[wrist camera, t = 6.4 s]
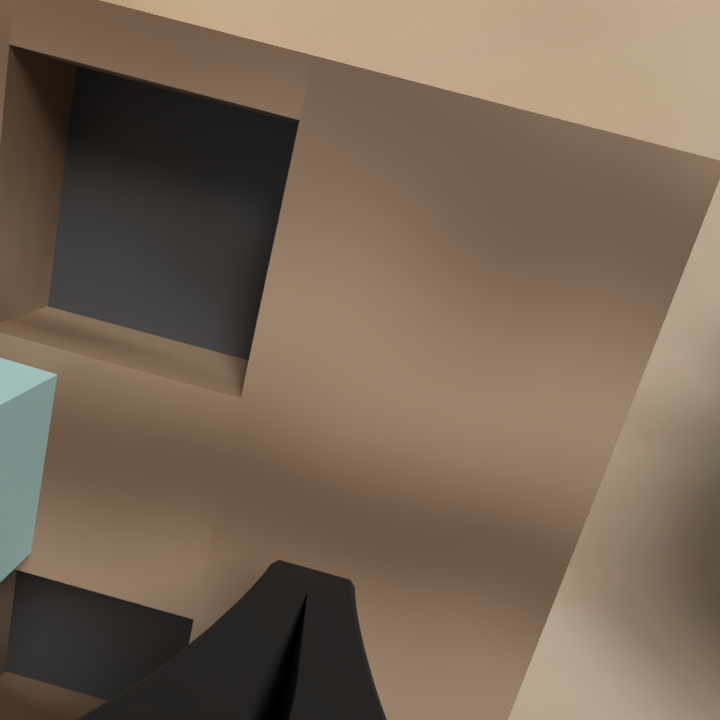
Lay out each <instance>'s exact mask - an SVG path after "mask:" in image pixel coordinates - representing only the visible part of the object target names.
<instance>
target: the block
mask: <svg viewBox="0 0 720 720" xmlns="http://www.w3.org/2000/svg"><path fill="white" fill-rule="evenodd" d="M56 381H57V374H54V373H51V372H47V371H44V370H40V369H37V368H34V367H30V366H27V365H23V364H20V363H17V362H13V361H10V360H6V359H3V358H0V582H1V581H2V580H3V579H4V578H5V577H6V576H7V575H8V574H9V573H10V572H11V571H13V570H14V569H15V568H16V567H17V566H18V565H19V564H20V563H21V562H22V561H23V560H24V559H25V558H26V557H27V556H28V555H29V554H30V553H31V548H32V542H33V535H34V528H35V522H36V515H37V508H38V501H39V495H40V488H41V481H42V475H43V468H44V461H45V454H46V448H47V441H48V434H49V428H50V421H51V414H52V407H53V401H54V394H55V387H56Z"/></svg>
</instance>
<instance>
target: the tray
mask: <svg viewBox="0 0 720 720" xmlns="http://www.w3.org/2000/svg"><path fill="white" fill-rule="evenodd" d="M719 179H720V161H719V160H715V159H711V158H707V157H704V156H700V155H696V154H692V153H688V152H684V151H680V150H676V149H673V148H669V147H665V146H661V145H657V144H653V143H649V142H645V141H642V140H638V139H634V138H630V137H626V136H622V135H618V134H614V133H611V132H607V131H603V130H599V129H595V128H591V127H587V126H584V125H580V124H576V123H572V122H568V121H564V120H560V119H556V118H553V117H549V116H545V115H541V114H537V113H533V112H529V111H525V110H522V109H518V108H514V107H510V106H506V105H502V104H498V103H494V102H491V101H487V100H483V99H479V98H475V97H471V96H467V95H463V94H460V93H456V92H452V91H448V90H444V89H440V88H436V87H433V86H429V85H425V84H421V83H417V82H413V81H409V80H405V79H402V78H398V77H394V76H390V75H386V74H382V73H378V72H374V71H371V70H367V69H363V68H359V67H355V66H351V65H347V64H343V63H340V62H336V61H332V60H328V59H324V58H320V57H316V56H313V55H309V54H305V53H301V52H297V51H293V50H289V49H285V48H282V47H278V46H274V45H270V44H266V43H262V42H258V41H254V40H251V39H247V38H243V37H239V36H235V35H231V34H227V33H223V32H220V31H216V30H212V29H208V28H204V27H200V26H196V25H192V24H189V23H185V22H181V21H177V20H173V19H169V18H165V17H162V16H158V15H154V14H150V13H146V12H142V11H138V10H134V9H131V8H127V7H123V6H119V5H115V4H111V3H107V2H103V1H100V0H0V358H3V359H6V360H10V361H13V362H17V363H20V364H23V365H27V366H30V367H34V368H37V369H40V370H44V371H47V372H51V373H54V374H57V381H56V387H55V394H54V401H53V407H52V414H51V421H50V428H49V434H48V441H47V448H46V454H45V461H44V468H43V475H42V481H41V488H40V495H39V501H38V508H37V515H36V522H35V528H34V535H33V542H32V548H31V553H30V554H29V555H28V556H27V557H26V558H25V559H24V560H23V561H22V562H21V563H20V564H19V565H18V566H17V567H16V568H15V569H14V570H13V571H11V572H10V573H9V574H8V575H7V576H6V577H5V578H4V579H3V580H2V581H1V582H0V720H76V719H78V718H80V717H81V716H83V715H85V714H87V713H88V712H90V711H92V710H93V709H95V708H97V707H98V706H100V705H102V704H104V703H105V702H107V701H109V700H110V699H112V698H114V697H115V696H117V695H119V694H120V693H122V692H123V691H125V690H126V689H128V688H129V687H131V686H132V685H134V684H135V683H137V682H139V681H140V680H142V679H143V678H144V677H146V676H147V675H149V674H150V673H152V672H153V671H155V670H156V669H157V668H159V667H160V666H161V665H163V664H164V663H166V662H167V661H168V660H170V659H171V658H172V657H174V656H175V655H176V654H177V653H179V652H180V651H181V650H182V649H184V648H185V647H186V646H187V645H188V644H190V643H191V642H192V641H193V640H195V639H196V638H197V637H198V636H200V635H201V634H202V633H203V632H205V631H206V630H207V629H208V628H209V627H210V626H212V625H213V624H214V623H215V622H216V621H217V620H218V619H219V618H220V617H221V616H222V615H224V614H225V613H226V612H227V611H228V610H229V609H230V608H231V607H232V606H233V605H234V604H235V603H237V602H238V601H239V600H240V599H241V598H242V597H243V595H244V594H245V593H246V592H247V591H248V590H249V589H250V588H251V587H252V586H253V585H254V584H255V583H256V582H257V581H258V580H259V578H260V577H261V576H262V575H263V574H264V572H265V571H266V570H267V569H268V567H269V566H270V564H272V563H274V562H276V561H278V560H282V561H285V562H289V563H293V564H296V565H300V566H303V567H307V568H310V569H314V570H318V571H321V572H325V573H328V574H332V575H336V576H339V577H343V578H346V579H350V580H351V581H352V583H353V585H354V587H355V598H356V607H357V614H358V620H359V625H360V630H361V635H362V639H363V644H364V648H365V652H366V655H367V659H368V663H369V666H370V670H371V673H372V677H373V681H374V684H375V687H376V690H377V693H378V696H379V699H380V702H381V705H382V708H383V711H384V713H385V716H386V719H387V720H508V717H509V715H510V712H511V710H512V707H513V704H514V702H515V699H516V697H517V694H518V692H519V689H520V687H521V684H522V681H523V679H524V676H525V674H526V671H527V669H528V666H529V664H530V661H531V659H532V656H533V653H534V651H535V648H536V646H537V643H538V641H539V638H540V636H541V633H542V630H543V628H544V625H545V623H546V620H547V618H548V615H549V613H550V610H551V608H552V605H553V602H554V600H555V597H556V595H557V592H558V590H559V587H560V585H561V582H562V579H563V577H564V574H565V572H566V569H567V567H568V564H569V562H570V559H571V557H572V554H573V551H574V549H575V546H576V544H577V541H578V539H579V536H580V534H581V531H582V528H583V526H584V523H585V521H586V518H587V516H588V513H589V511H590V508H591V506H592V503H593V500H594V498H595V495H596V493H597V490H598V488H599V485H600V483H601V480H602V477H603V475H604V472H605V470H606V467H607V465H608V462H609V460H610V457H611V455H612V452H613V449H614V447H615V444H616V442H617V439H618V437H619V434H620V432H621V429H622V426H623V424H624V421H625V419H626V416H627V414H628V411H629V409H630V406H631V404H632V401H633V398H634V396H635V393H636V391H637V388H638V386H639V383H640V381H641V378H642V375H643V373H644V370H645V368H646V365H647V363H648V360H649V358H650V355H651V353H652V350H653V347H654V345H655V342H656V340H657V337H658V335H659V332H660V330H661V327H662V325H663V322H664V319H665V317H666V314H667V312H668V309H669V307H670V304H671V302H672V299H673V296H674V294H675V291H676V289H677V286H678V284H679V281H680V279H681V276H682V274H683V271H684V268H685V266H686V263H687V261H688V258H689V256H690V253H691V251H692V248H693V245H694V243H695V240H696V238H697V235H698V233H699V230H700V228H701V225H702V223H703V220H704V217H705V215H706V212H707V210H708V207H709V205H710V202H711V200H712V197H713V194H714V192H715V189H716V187H717V184H718V182H719Z"/></svg>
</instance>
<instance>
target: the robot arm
mask: <svg viewBox="0 0 720 720" xmlns="http://www.w3.org/2000/svg"><path fill="white" fill-rule="evenodd" d="M76 720H387V719H386V716H385V713H384V711H383V708H382V705H381V702H380V699H379V696H378V693H377V690H376V687H375V684H374V681H373V677H372V673H371V670H370V666H369V663H368V659H367V655H366V652H365V648H364V644H363V639H362V635H361V630H360V625H359V620H358V614H357V607H356V598H355V587H354V585H353V583H352V581H351V580H350V579H346V578H343V577H339V576H336V575H332V574H328V573H325V572H321V571H318V570H314V569H310V568H307V567H303V566H300V565H296V564H293V563H289V562H285V561H282V560H278V561H276V562H274V563H272V564H270V566H269V567H268V569H267V570H266V571H265V572H264V574H263V575H262V576H261V577H260V578H259V580H258V581H257V582H256V583H255V584H254V585H253V586H252V587H251V588H250V589H249V590H248V591H247V592H246V593H245V594H244V595H243V597H242V598H241V599H240V600H239V601H238V602H237V603H235V604H234V605H233V606H232V607H231V608H230V609H229V610H228V611H227V612H226V613H225V614H224V615H222V616H221V617H220V618H219V619H218V620H217V621H216V622H215V623H214V624H213V625H212V626H210V627H209V628H208V629H207V630H206V631H205V632H203V633H202V634H201V635H200V636H198V637H197V638H196V639H195V640H193V641H192V642H191V643H190V644H188V645H187V646H186V647H185V648H184V649H182V650H181V651H180V652H179V653H177V654H176V655H175V656H174V657H172V658H171V659H170V660H168V661H167V662H166V663H164V664H163V665H161V666H160V667H159V668H157V669H156V670H155V671H153V672H152V673H150V674H149V675H147V676H146V677H144V678H143V679H142V680H140V681H139V682H137V683H135V684H134V685H132V686H131V687H129V688H128V689H126V690H125V691H123V692H122V693H120V694H119V695H117V696H115V697H114V698H112V699H110V700H109V701H107V702H105V703H104V704H102V705H100V706H98V707H97V708H95V709H93V710H92V711H90V712H88V713H87V714H85V715H83V716H81V717H80V718H78V719H76Z"/></svg>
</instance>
